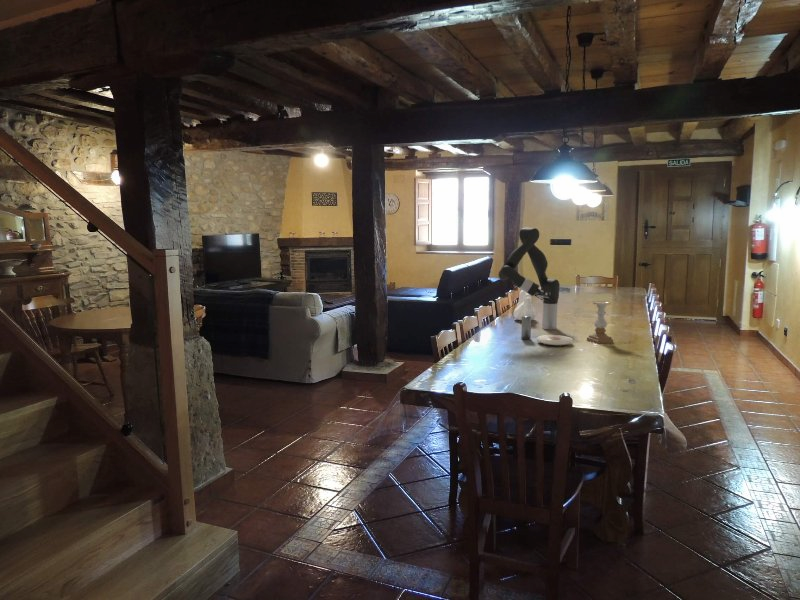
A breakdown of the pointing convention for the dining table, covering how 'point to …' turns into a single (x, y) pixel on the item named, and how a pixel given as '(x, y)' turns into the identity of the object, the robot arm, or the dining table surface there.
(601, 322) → the candle holder
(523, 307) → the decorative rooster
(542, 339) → the disc
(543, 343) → the turntable base
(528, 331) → the cup
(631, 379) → the dining table surface
